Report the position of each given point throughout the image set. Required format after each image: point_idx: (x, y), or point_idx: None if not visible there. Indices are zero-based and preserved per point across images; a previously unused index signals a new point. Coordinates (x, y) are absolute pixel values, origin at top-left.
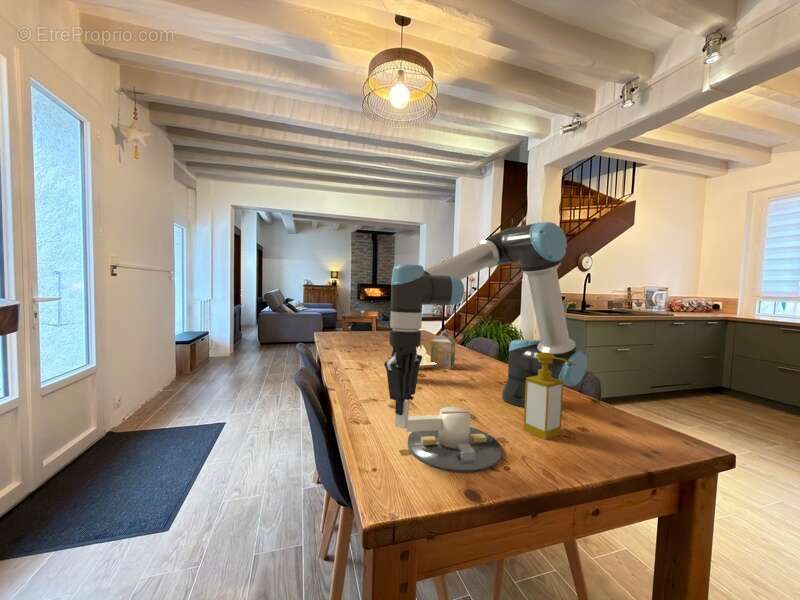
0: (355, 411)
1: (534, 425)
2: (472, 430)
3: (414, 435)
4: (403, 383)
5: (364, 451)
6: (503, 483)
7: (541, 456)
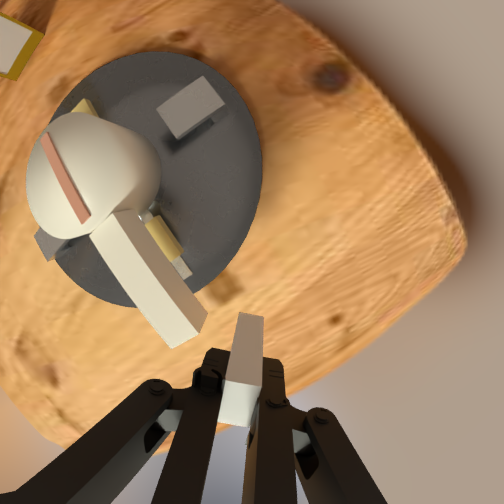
0: None
1: (17, 53)
2: None
3: None
4: (291, 487)
5: None
6: (249, 29)
7: (105, 10)
